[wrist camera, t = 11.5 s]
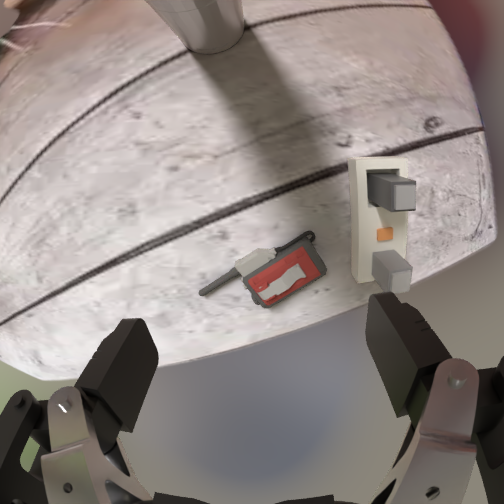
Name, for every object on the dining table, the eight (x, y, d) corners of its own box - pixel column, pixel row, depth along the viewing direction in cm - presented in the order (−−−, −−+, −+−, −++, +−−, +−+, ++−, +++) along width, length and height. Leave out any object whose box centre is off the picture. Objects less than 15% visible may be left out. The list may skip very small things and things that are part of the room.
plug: (365, 173, 34) (393, 182, 26) (387, 172, 34) (418, 182, 26) (366, 198, 36) (393, 213, 28) (388, 196, 35) (417, 211, 27)
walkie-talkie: (303, 216, 39) (196, 285, 43) (308, 225, 34) (190, 299, 39) (331, 261, 41) (229, 321, 46) (339, 274, 37) (227, 338, 42)
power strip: (347, 157, 35) (376, 163, 25) (396, 156, 34) (433, 163, 25) (351, 273, 41) (372, 308, 32) (394, 266, 41) (422, 297, 31)
